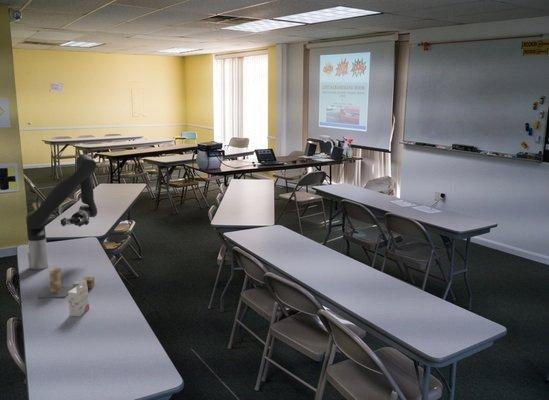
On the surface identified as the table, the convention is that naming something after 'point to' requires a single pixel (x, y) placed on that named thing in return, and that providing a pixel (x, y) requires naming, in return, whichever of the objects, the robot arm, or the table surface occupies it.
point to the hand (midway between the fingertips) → (71, 224)
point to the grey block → (77, 283)
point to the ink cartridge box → (78, 299)
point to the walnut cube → (89, 282)
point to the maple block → (55, 280)
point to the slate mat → (62, 294)
